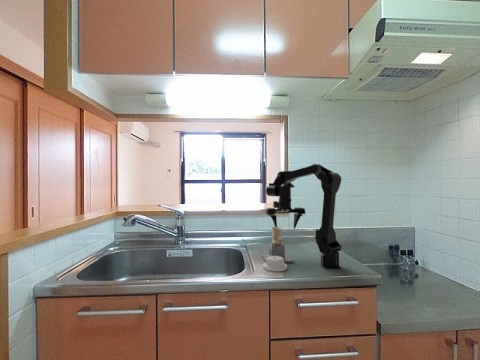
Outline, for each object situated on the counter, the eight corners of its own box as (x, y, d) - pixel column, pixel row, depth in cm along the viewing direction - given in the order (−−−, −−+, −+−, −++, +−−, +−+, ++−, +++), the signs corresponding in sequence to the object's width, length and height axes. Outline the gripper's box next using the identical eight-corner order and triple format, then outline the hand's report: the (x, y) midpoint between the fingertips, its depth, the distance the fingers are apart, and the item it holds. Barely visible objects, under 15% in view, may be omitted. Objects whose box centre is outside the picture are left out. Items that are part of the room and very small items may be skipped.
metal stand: (286, 255, 133) (285, 241, 133) (293, 262, 121) (293, 246, 121) (261, 256, 132) (261, 242, 132) (266, 263, 120) (266, 247, 120)
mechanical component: (263, 264, 120) (262, 271, 110) (263, 254, 120) (262, 260, 110) (286, 265, 118) (287, 272, 109) (286, 255, 118) (287, 261, 109)
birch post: (279, 248, 129) (279, 227, 129) (281, 250, 125) (281, 228, 125) (271, 248, 128) (271, 227, 128) (273, 250, 124) (273, 228, 125)
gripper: (298, 195, 143) (298, 225, 143) (263, 196, 141) (263, 226, 141) (305, 196, 132) (305, 229, 132) (267, 197, 130) (267, 230, 130)
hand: (285, 228), depth 134 cm, fingers open, 9 cm apart
